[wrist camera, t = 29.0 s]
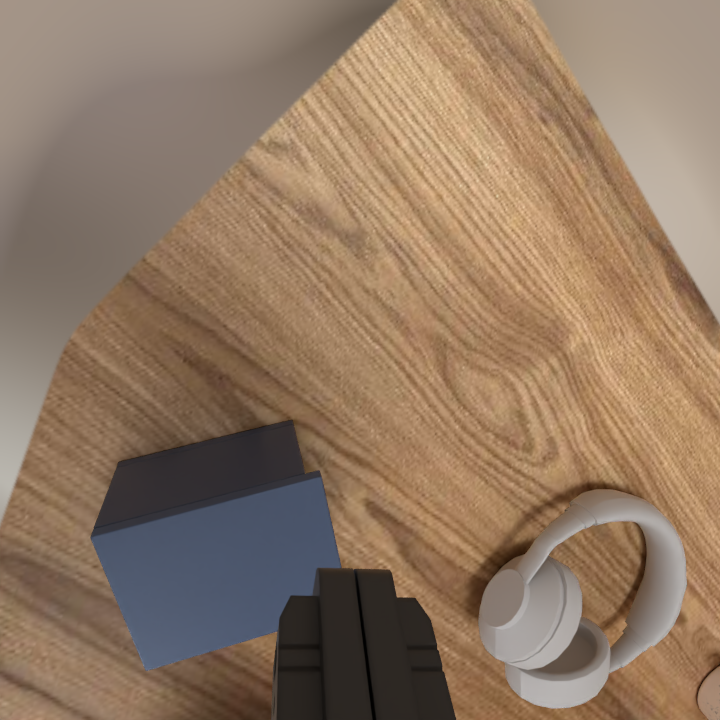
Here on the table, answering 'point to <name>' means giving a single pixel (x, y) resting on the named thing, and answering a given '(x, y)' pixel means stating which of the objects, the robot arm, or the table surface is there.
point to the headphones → (578, 606)
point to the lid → (217, 566)
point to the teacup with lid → (710, 695)
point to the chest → (201, 472)
